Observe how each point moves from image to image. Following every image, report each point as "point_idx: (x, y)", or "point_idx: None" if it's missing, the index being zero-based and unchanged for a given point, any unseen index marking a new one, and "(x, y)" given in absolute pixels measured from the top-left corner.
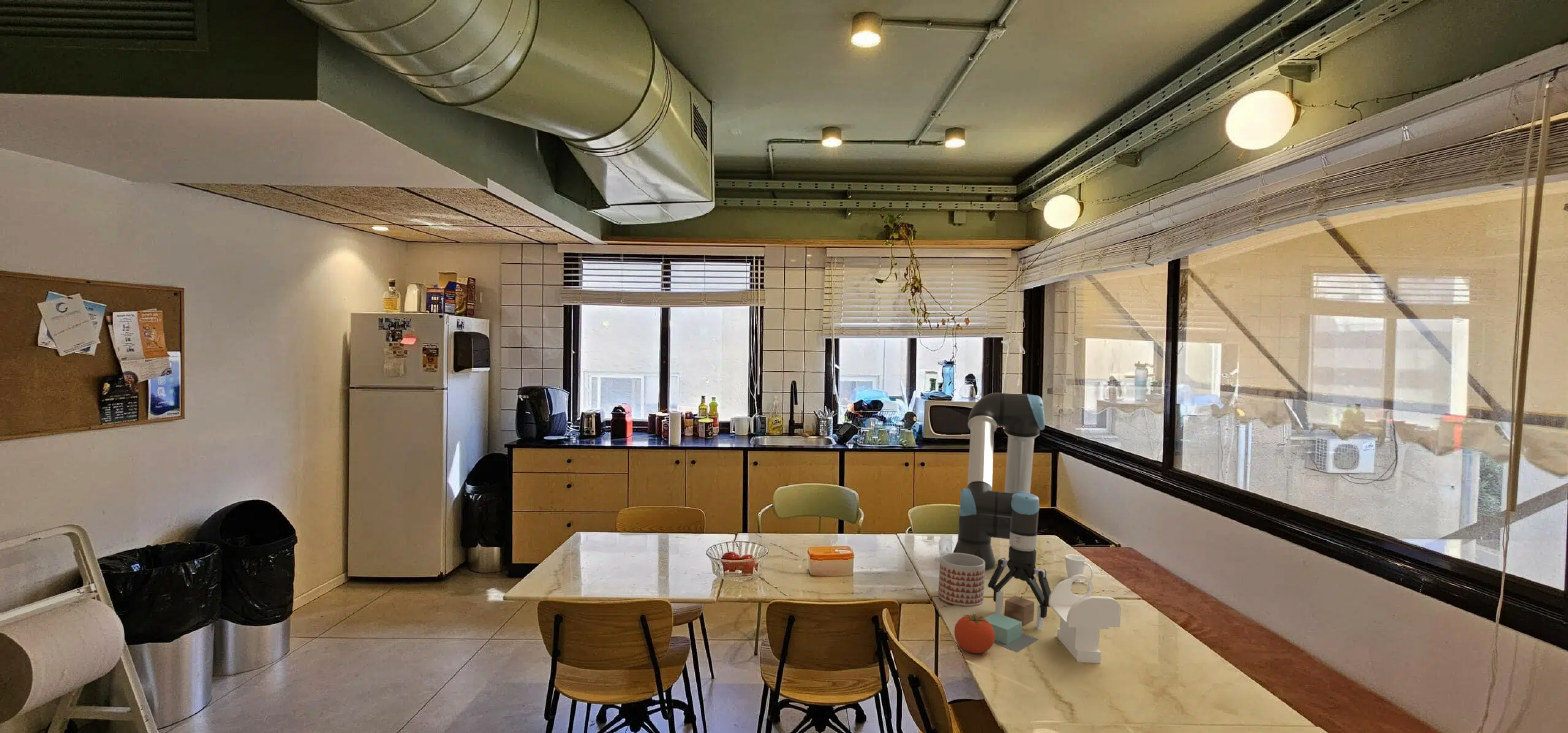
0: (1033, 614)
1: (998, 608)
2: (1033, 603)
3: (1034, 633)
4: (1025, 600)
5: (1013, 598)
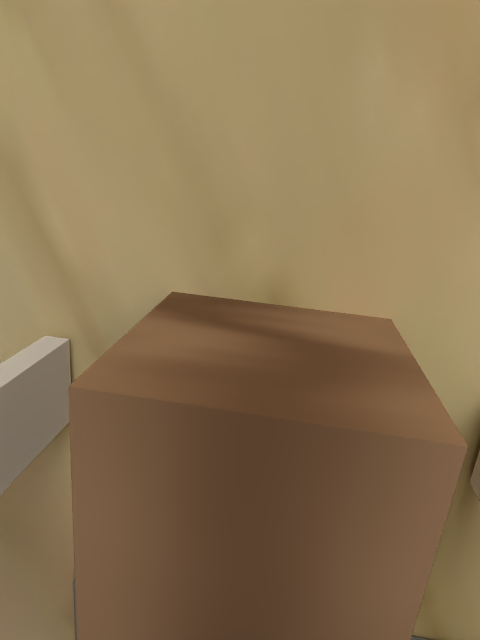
0: (408, 354)
1: (38, 440)
2: (451, 460)
3: (473, 556)
4: (305, 487)
5: (118, 527)
